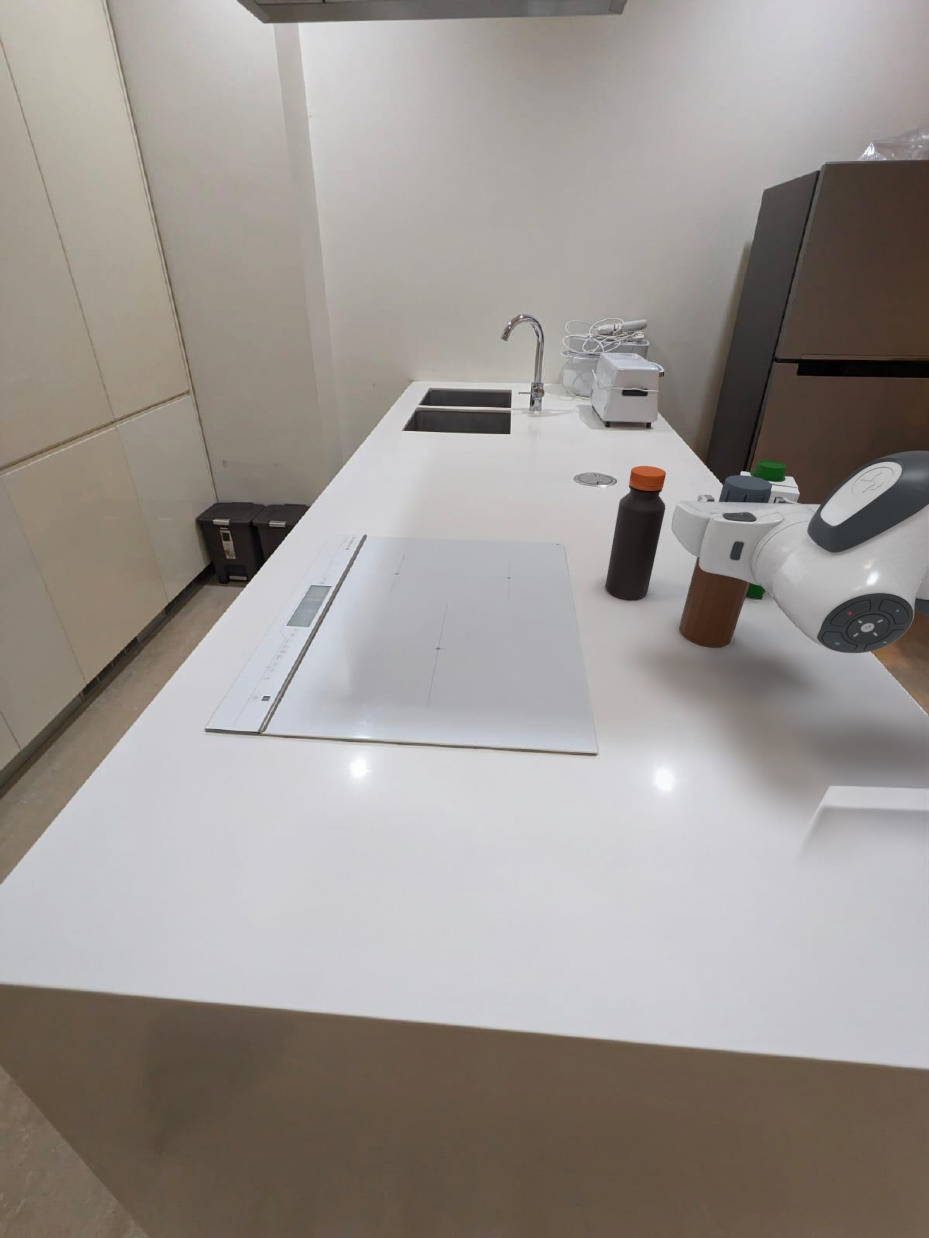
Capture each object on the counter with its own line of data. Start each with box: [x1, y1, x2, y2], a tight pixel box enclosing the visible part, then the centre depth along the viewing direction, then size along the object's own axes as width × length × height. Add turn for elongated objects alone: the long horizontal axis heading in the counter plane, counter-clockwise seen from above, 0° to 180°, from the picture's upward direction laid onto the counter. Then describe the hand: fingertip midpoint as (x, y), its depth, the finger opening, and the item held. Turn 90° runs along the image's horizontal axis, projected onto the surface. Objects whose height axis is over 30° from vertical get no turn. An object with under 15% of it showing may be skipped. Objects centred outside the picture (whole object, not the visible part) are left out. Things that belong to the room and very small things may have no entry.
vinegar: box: [605, 465, 667, 600], centre depth 90 cm, size 7×7×20 cm
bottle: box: [679, 556, 750, 648], centre depth 79 cm, size 7×7×22 cm
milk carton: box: [739, 459, 801, 600], centre depth 92 cm, size 9×9×20 cm
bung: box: [718, 474, 772, 503], centre depth 75 cm, size 5×5×8 cm
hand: (739, 501), depth 75 cm, fingers open, 8 cm apart
